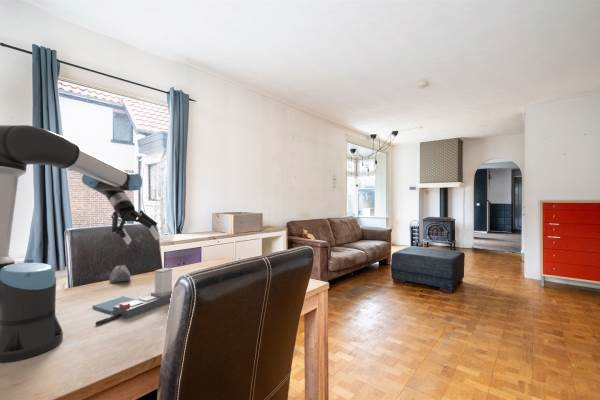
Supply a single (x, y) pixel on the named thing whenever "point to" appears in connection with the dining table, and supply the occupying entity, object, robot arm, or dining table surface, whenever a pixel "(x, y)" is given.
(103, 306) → the mat
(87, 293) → the dining table surface
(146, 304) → the power strip
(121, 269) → the stone
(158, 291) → the block
